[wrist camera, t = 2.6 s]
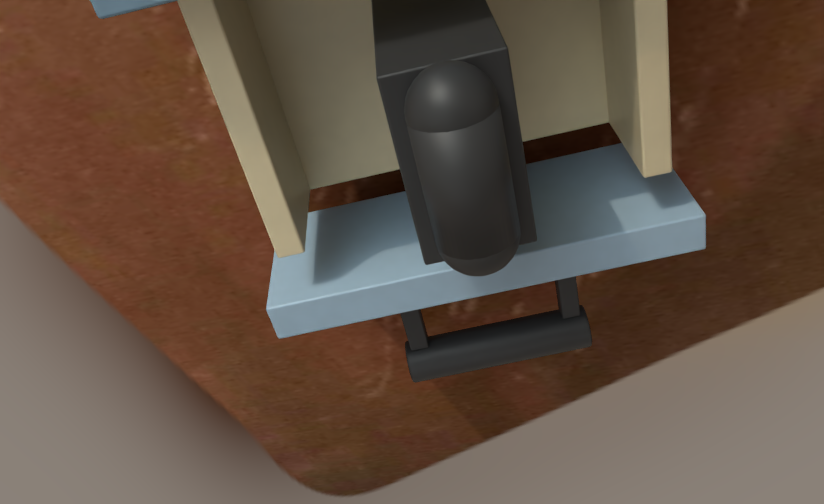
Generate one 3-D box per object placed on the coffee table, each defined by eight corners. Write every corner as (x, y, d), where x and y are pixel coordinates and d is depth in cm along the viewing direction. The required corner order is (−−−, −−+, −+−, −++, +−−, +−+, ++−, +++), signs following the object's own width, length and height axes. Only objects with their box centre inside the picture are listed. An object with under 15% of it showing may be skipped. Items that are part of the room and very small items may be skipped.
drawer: (657, 265, 29) (706, 357, 25) (322, 336, 29) (318, 434, 25) (626, -380, 18) (706, -407, 14) (106, -240, 19) (39, -226, 15)
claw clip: (369, -11, 21) (376, 100, 15) (471, -36, 21) (519, 67, 15) (410, 155, 24) (430, 305, 18) (500, 136, 24) (550, 280, 18)
